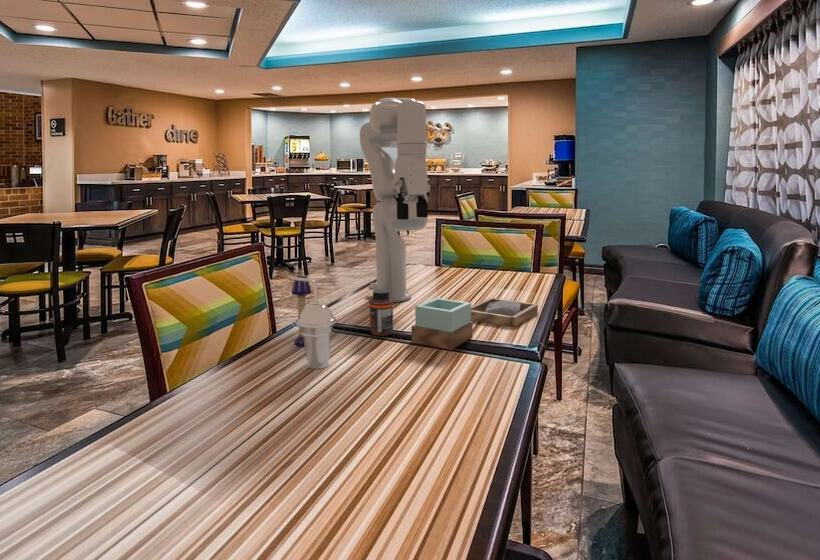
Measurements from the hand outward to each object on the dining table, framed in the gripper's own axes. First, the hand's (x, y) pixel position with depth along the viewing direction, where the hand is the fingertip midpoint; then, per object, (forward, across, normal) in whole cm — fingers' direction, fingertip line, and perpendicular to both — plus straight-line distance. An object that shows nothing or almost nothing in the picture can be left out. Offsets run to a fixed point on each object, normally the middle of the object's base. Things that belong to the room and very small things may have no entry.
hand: (412, 218), depth 143 cm
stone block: (+29, -20, +17) cm, 40 cm away
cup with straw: (+30, +37, -3) cm, 48 cm away
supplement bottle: (+29, +11, -3) cm, 31 cm away
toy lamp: (+29, +27, -15) cm, 43 cm away
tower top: (+25, +8, +13) cm, 30 cm away
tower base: (+30, +8, +13) cm, 33 cm away
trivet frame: (+29, -20, +17) cm, 39 cm away
